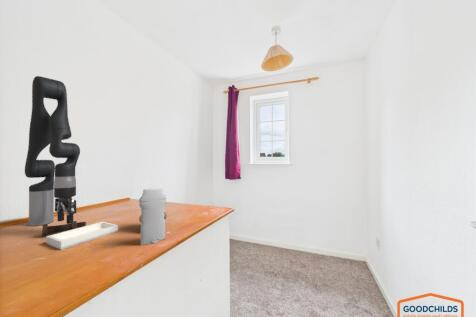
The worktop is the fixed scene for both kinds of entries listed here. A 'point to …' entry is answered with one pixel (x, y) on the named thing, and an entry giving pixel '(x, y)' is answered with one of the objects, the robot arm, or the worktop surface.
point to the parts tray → (80, 235)
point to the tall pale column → (152, 215)
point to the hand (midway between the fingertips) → (65, 222)
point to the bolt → (61, 228)
